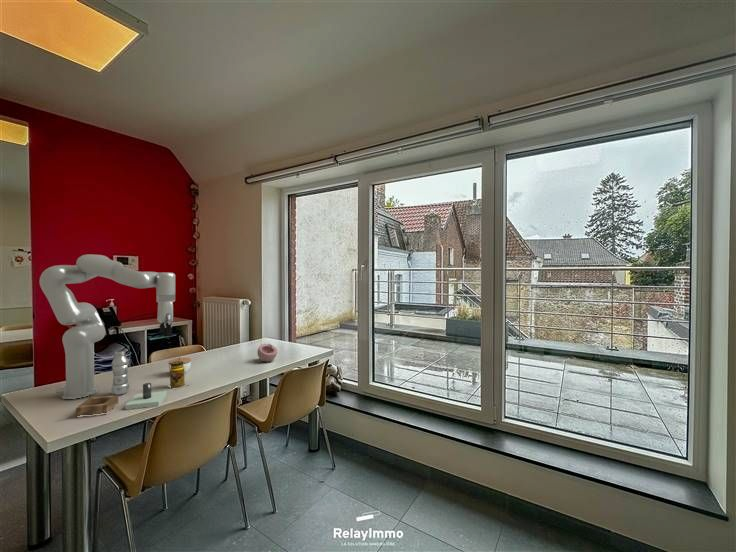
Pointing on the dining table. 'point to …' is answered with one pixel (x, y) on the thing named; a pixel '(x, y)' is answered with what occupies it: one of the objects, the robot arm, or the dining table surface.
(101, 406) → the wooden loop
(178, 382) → the condiment
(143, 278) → the robot arm
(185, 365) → the white round bowl
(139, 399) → the peg stand
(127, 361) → the plastic bottle
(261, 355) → the pink round bowl
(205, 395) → the dining table surface
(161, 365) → the dining table surface
